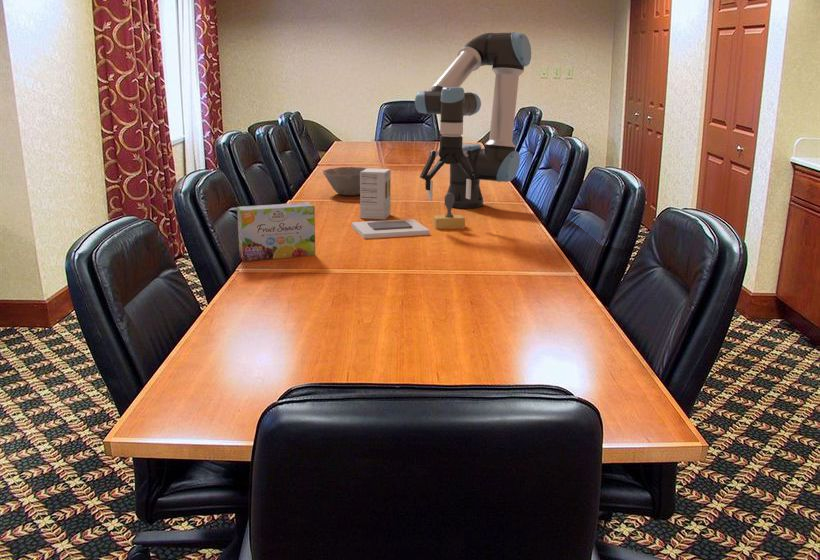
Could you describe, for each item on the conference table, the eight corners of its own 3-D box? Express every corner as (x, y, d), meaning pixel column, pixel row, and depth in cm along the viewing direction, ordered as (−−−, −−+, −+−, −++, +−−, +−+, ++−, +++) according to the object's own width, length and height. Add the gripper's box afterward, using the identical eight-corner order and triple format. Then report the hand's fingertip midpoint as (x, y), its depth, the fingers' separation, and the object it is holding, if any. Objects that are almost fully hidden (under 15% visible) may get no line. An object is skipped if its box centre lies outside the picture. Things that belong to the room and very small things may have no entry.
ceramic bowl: (388, 193, 318) (388, 169, 315) (355, 201, 299) (355, 176, 296) (346, 188, 329) (345, 165, 326) (312, 195, 310) (311, 171, 308)
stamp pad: (413, 223, 262) (413, 217, 261) (429, 234, 245) (429, 228, 244) (351, 226, 255) (351, 220, 255) (363, 238, 239) (363, 232, 238)
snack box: (243, 262, 211) (240, 209, 206) (239, 257, 216) (236, 206, 211) (316, 255, 219) (314, 204, 214) (310, 251, 224) (309, 201, 219)
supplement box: (384, 220, 266) (384, 172, 261) (359, 218, 268) (359, 171, 263) (391, 214, 275) (391, 168, 270) (366, 213, 277) (366, 167, 272)
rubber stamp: (435, 229, 253) (436, 194, 249) (433, 225, 258) (434, 191, 255) (465, 229, 254) (465, 193, 250) (461, 225, 259) (462, 190, 256)
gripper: (482, 134, 254) (479, 196, 260) (411, 134, 247) (410, 198, 253) (490, 136, 247) (487, 199, 253) (418, 136, 240) (417, 202, 246)
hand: (449, 199), depth 253 cm, fingers open, 13 cm apart
